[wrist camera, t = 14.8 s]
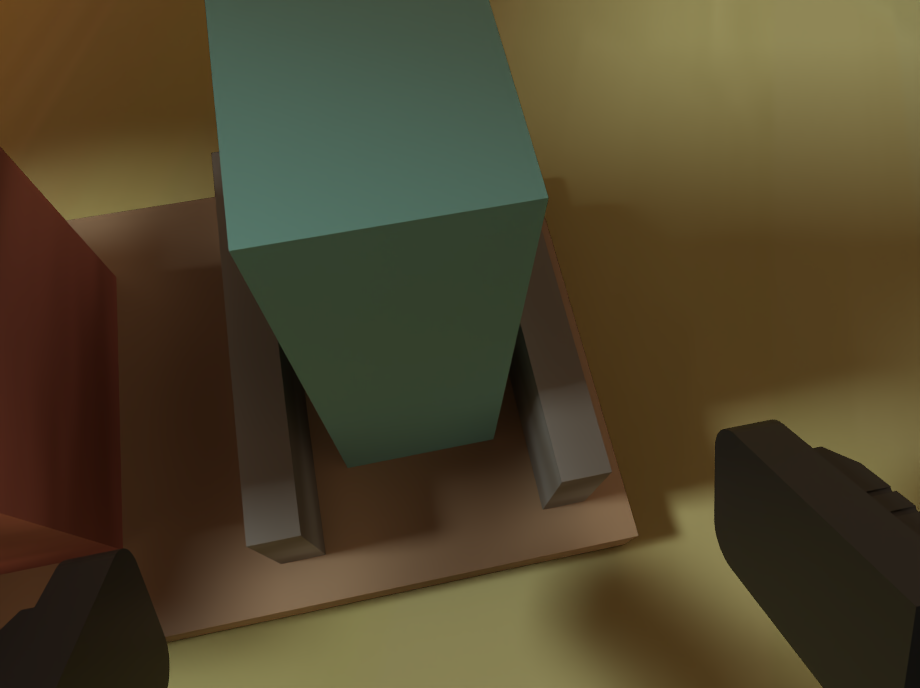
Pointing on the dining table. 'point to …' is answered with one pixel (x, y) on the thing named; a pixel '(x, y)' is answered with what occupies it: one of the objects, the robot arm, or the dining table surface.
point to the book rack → (254, 434)
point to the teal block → (380, 208)
